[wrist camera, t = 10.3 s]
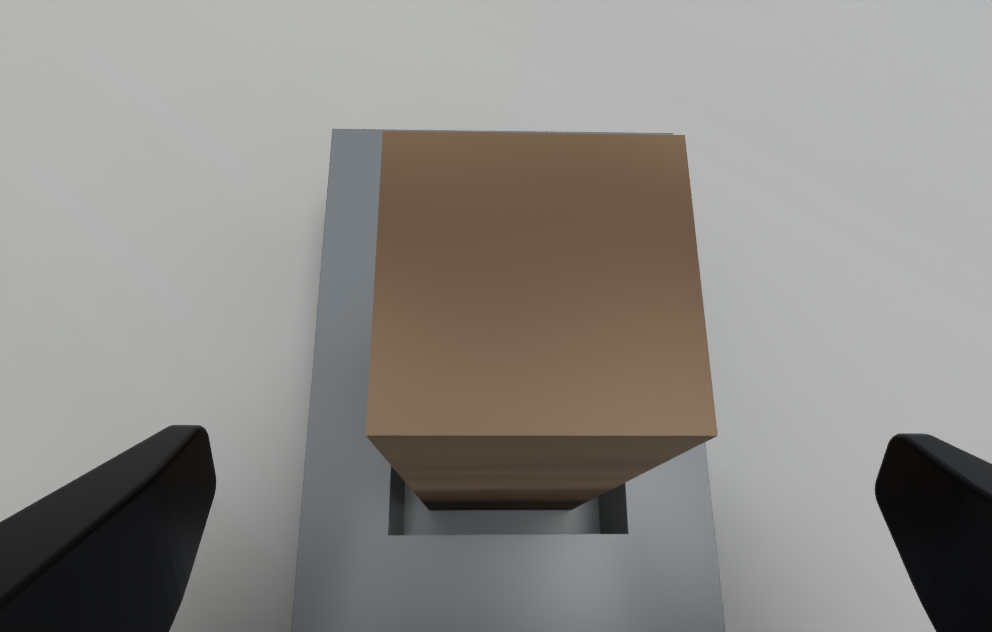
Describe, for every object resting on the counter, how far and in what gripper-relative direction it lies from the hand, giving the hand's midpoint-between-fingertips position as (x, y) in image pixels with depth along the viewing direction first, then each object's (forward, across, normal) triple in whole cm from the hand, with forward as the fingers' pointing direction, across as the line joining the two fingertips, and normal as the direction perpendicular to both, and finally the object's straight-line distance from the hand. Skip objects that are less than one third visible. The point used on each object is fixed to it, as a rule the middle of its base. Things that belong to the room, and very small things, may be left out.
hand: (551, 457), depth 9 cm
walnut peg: (+9, 0, +6) cm, 11 cm away
